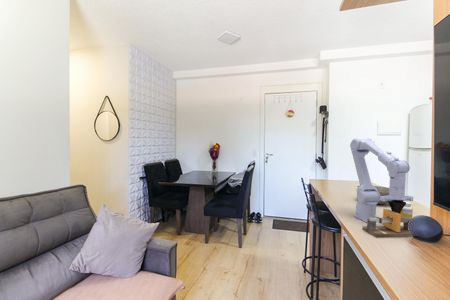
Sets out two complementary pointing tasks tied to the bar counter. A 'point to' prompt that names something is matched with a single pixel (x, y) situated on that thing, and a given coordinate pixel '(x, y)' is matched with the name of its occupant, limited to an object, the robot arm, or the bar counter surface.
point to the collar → (396, 220)
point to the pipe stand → (384, 231)
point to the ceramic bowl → (382, 193)
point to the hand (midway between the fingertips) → (395, 216)
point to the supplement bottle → (407, 210)
